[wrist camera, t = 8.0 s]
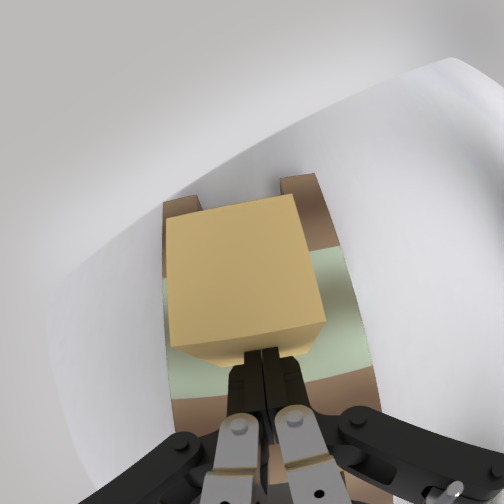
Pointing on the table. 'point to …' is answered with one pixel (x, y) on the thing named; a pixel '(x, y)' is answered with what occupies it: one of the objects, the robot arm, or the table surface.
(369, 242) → the table surface
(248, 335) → the ochre block
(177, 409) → the box
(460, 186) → the table surface
